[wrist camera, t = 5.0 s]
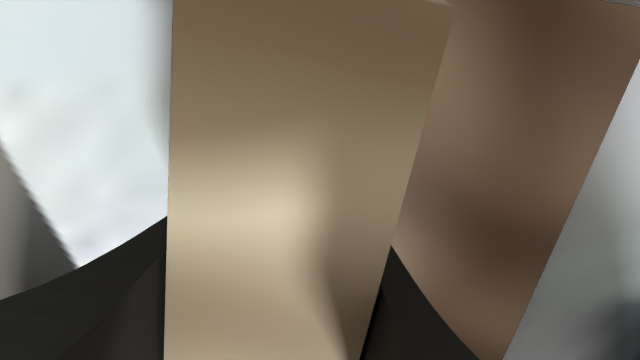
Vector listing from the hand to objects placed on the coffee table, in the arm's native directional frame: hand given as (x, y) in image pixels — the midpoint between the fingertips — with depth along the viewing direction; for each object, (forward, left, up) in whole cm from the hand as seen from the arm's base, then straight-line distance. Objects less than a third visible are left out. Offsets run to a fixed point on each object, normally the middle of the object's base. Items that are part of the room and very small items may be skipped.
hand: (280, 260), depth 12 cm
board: (0, -4, -5) cm, 6 cm away
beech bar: (0, 0, -2) cm, 2 cm away
